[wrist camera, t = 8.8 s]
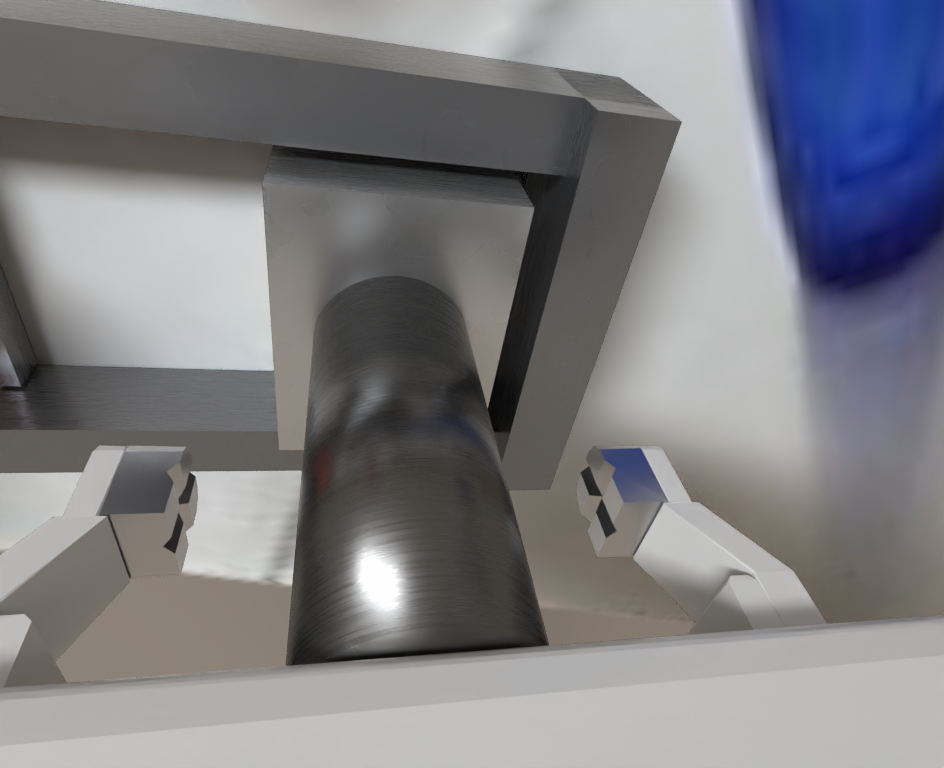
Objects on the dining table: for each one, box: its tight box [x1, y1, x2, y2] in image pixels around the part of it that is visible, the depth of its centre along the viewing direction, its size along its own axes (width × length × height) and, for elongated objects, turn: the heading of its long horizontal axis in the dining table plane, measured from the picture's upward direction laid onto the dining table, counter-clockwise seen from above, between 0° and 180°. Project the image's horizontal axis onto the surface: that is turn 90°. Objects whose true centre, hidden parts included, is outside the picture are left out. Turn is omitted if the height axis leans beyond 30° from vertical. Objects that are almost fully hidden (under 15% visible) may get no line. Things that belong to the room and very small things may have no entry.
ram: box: [262, 145, 549, 666], centre depth 14 cm, size 6×8×13 cm
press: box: [0, 0, 682, 490], centre depth 14 cm, size 30×12×8 cm, turn 81°
